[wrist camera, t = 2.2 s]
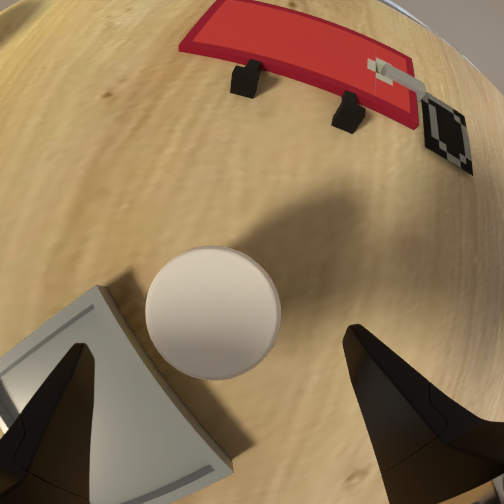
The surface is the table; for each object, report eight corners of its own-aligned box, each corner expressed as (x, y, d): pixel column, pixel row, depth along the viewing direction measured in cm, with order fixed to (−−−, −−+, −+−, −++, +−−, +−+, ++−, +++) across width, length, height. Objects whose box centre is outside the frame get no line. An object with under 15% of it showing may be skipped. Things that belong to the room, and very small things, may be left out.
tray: (231, 459, 16) (233, 472, 14) (92, 518, 13) (85, 530, 12) (106, 287, 17) (96, 284, 16) (-12, 377, 14) (-26, 380, 13)
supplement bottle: (218, 250, 19) (225, 190, 9) (275, 316, 18) (338, 321, 9) (152, 305, 18) (90, 300, 8) (209, 372, 17) (207, 435, 8)
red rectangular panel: (468, 195, 23) (454, 94, 27) (486, 185, 20) (466, 82, 24) (161, 82, 21) (220, 3, 25) (157, 59, 19) (222, -15, 22)
